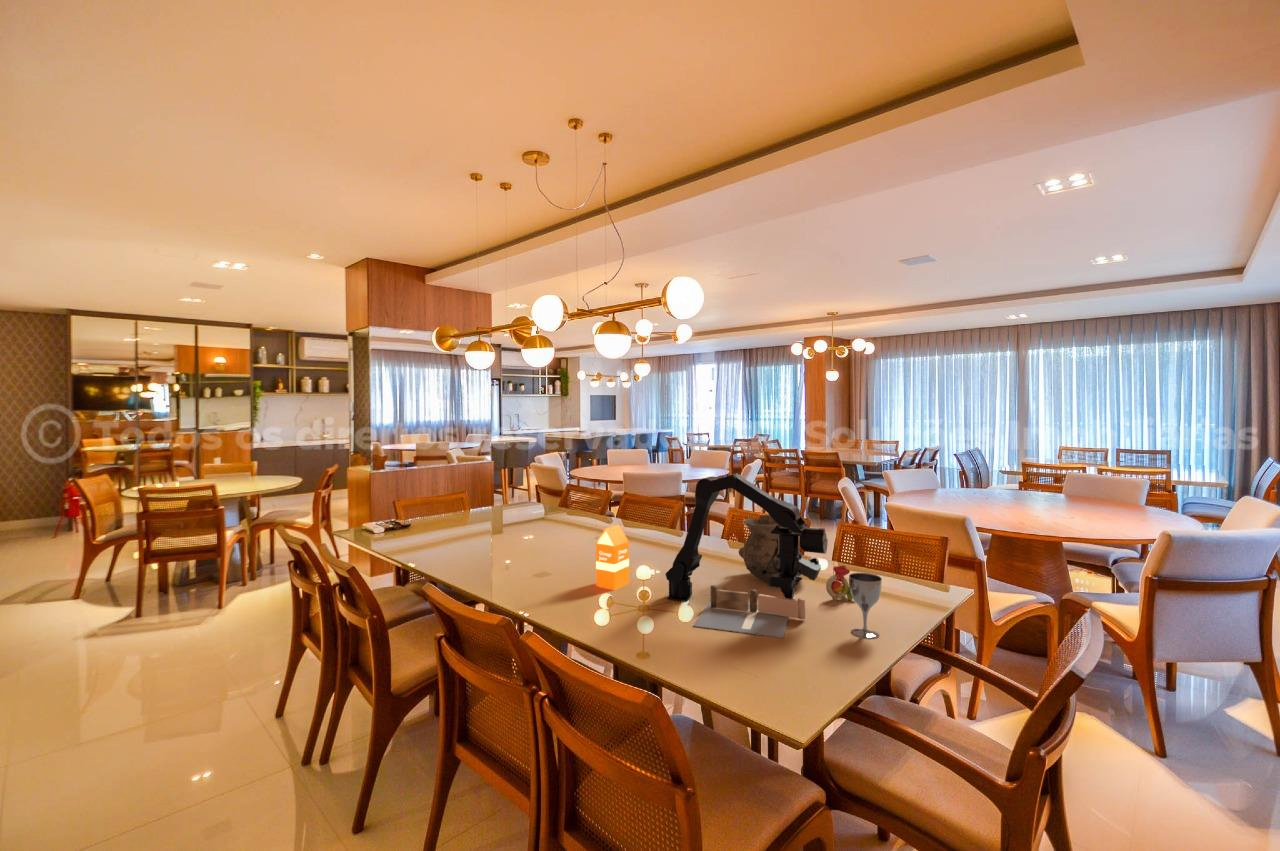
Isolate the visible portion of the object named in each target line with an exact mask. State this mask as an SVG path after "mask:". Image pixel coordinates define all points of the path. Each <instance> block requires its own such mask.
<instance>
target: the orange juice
mask: <svg viewBox="0 0 1280 851" xmlns="http://www.w3.org/2000/svg"><path fill="white" fill-rule="evenodd" d="M595 571H596V572H595V577H596V578H595V579H596V580H595V581H596V584H595V586H596V587H597V586H599V587H598V588H602V587H603V588H602V589H608V590H613V591H616V590H618V589H621V588H622V587H624V586H626V585H628V584H630V542H629V540H628V538H627V536H626V534H625V532H624V530H623V529H622V526H621V524H616V525H615V524H614V525H611V526H609V527H605V528H604V530H603V532H602V533H601V534H600V536H599V538H598V539H597V541H596V543H595Z"/></svg>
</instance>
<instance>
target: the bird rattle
mask: <svg viewBox="0 0 1280 851" xmlns="http://www.w3.org/2000/svg"><path fill="white" fill-rule="evenodd" d="M833 571H834V574H832V575H831V576H830V577H829V578H828V579H827V581H826V584H825V588H826V591H827V594H829V596H830V597H831V599H832V600H833V601H836V600H838V599H842V598H844V597H845V596H846V597H847V599H848V601H852V600H854V599H853V598H852V596H851V592H850V587H849V581H848V579H847V578H846V577H845V576H847V575H848V574H849V575H850V574H851V573H850V572H851V570H850V569H847V566H846V565H835V566H834V567H833Z"/></svg>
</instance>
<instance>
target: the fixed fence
mask: <svg viewBox="0 0 1280 851" xmlns="http://www.w3.org/2000/svg"><path fill="white" fill-rule="evenodd" d="M710 600H711V608H723V609H732V610H740V611H748V604H750V612H757V605H758V590H757V589H754V588H753V589H749V592H746V591H739V590H738V591H736V590H728V589H727V590H726V589H718V586H717V585H711V586H710Z"/></svg>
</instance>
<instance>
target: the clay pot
mask: <svg viewBox="0 0 1280 851" xmlns="http://www.w3.org/2000/svg"><path fill="white" fill-rule="evenodd" d="M743 523H744V524H745V526H746V527H747V529H748V530H749V533H750V534H749V535H748V536H747V539H746V541H745V542H744V544H743V546H742V547H741V548H739V550H738V554H739V557H741V558H742V559H743V562H744V564H745V568H746V569H747V571H748V572H749V573H750V574H751V575H753V576H754V577H756V579H759V580H761V581H764V582H767V583H769V579H770V578H771V577H772V576H773V575H774V574H776V573H778V574H781V572H777V568H778V567H779V558H777V557H776V554H777V553H778V534H772V533H771V531H772V530H773V529H774V528H775V527H776V525H778V523H777V522H775V521H774V520H773V519H772V518H771V517H770V515H769V514H760V515H759V518H758V519H756V518H753V517H750V518H749V517H748V518H746V519H744V521H743ZM808 560H809V561H810V559H809V558H808ZM801 576H802V574H800V573H798V577H801Z"/></svg>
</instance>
